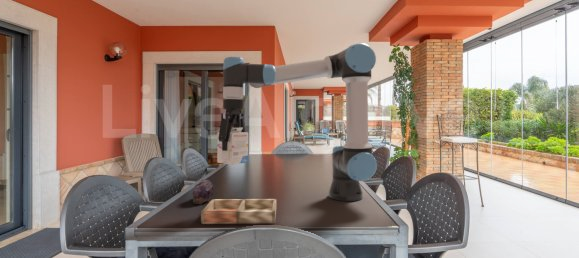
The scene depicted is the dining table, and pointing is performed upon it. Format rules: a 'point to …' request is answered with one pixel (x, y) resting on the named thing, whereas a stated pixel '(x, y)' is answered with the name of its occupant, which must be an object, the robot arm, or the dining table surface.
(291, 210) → the dining table surface
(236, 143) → the ink box
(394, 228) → the dining table surface
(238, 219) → the divided tray
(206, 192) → the rock
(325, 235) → the dining table surface
